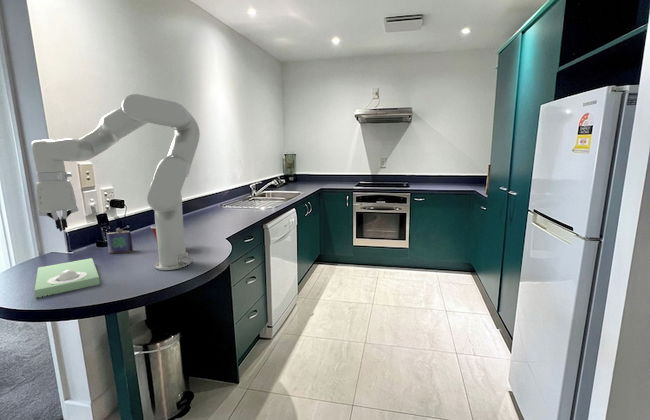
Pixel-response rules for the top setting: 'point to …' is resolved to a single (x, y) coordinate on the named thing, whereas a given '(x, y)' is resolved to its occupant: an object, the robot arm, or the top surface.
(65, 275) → the ball
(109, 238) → the flask
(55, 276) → the tissue box
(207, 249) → the top surface
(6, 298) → the top surface
